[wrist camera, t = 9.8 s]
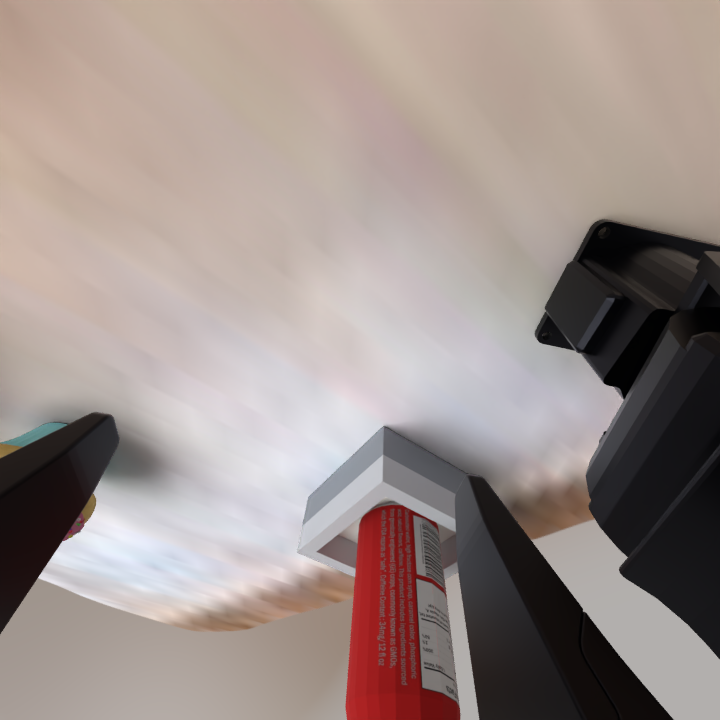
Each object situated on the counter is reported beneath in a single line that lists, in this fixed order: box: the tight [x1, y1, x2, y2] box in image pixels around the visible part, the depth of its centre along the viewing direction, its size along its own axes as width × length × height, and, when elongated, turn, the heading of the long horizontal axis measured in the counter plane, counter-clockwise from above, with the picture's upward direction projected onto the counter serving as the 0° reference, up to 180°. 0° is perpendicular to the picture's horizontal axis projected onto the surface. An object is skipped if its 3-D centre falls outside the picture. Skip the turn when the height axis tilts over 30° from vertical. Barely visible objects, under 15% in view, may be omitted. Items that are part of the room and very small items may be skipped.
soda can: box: [346, 502, 460, 720], centre depth 22 cm, size 6×6×12 cm
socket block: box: [297, 426, 467, 579], centre depth 27 cm, size 10×10×4 cm
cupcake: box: [0, 423, 96, 541], centre depth 24 cm, size 9×8×12 cm
